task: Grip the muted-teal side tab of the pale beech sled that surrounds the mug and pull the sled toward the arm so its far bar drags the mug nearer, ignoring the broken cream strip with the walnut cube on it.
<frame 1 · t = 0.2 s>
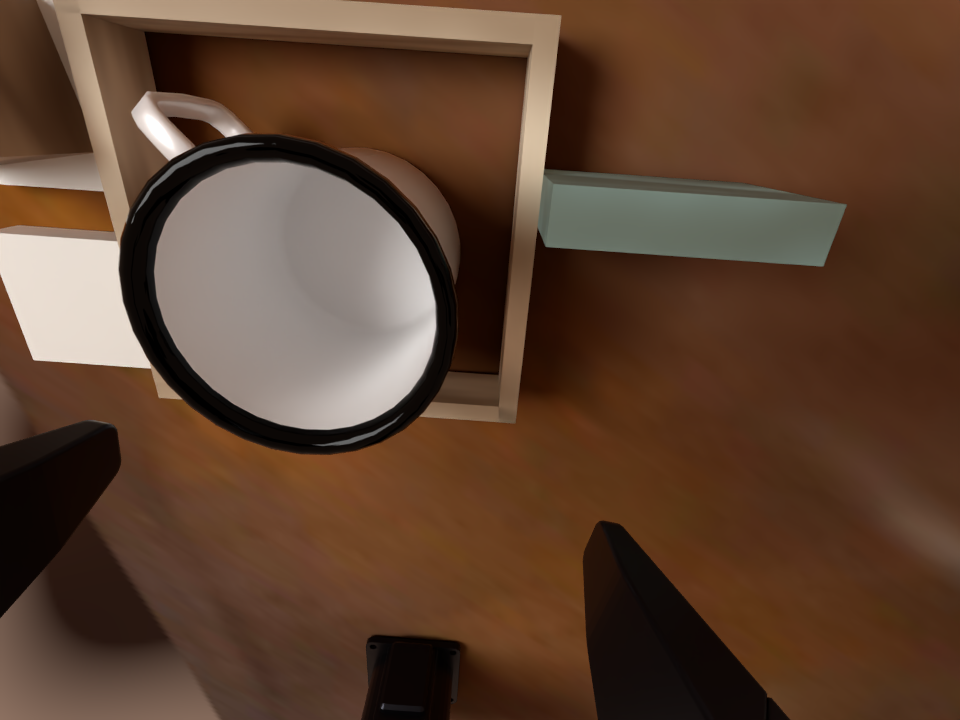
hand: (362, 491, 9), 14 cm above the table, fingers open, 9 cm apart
beech sled: (433, 250, 18), point 3 cm above the table, slide at 0.0 cm
mug: (349, 225, 21), resting in beech sled
broken cream strip: (78, 206, 21), on the table
walnut cube: (6, 87, 18), point 2 cm above the table, touching broken cream strip
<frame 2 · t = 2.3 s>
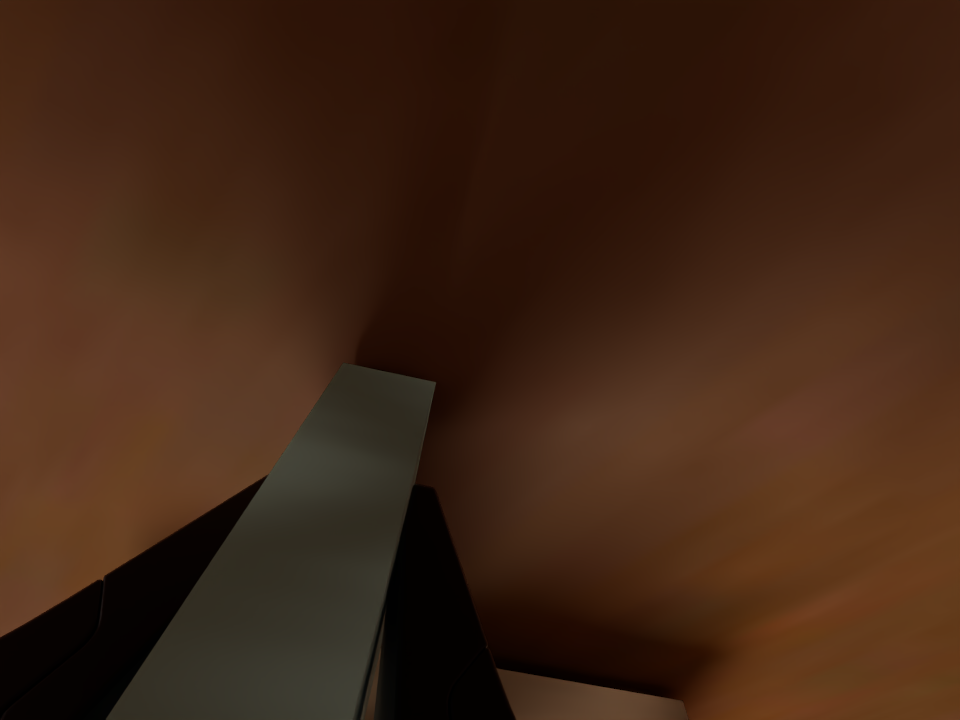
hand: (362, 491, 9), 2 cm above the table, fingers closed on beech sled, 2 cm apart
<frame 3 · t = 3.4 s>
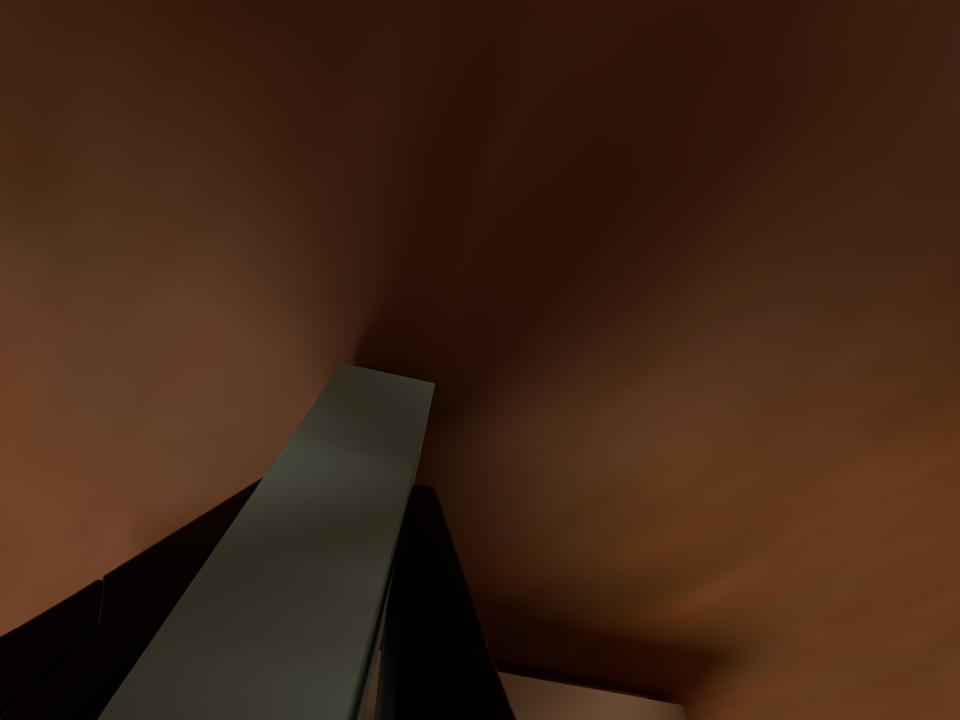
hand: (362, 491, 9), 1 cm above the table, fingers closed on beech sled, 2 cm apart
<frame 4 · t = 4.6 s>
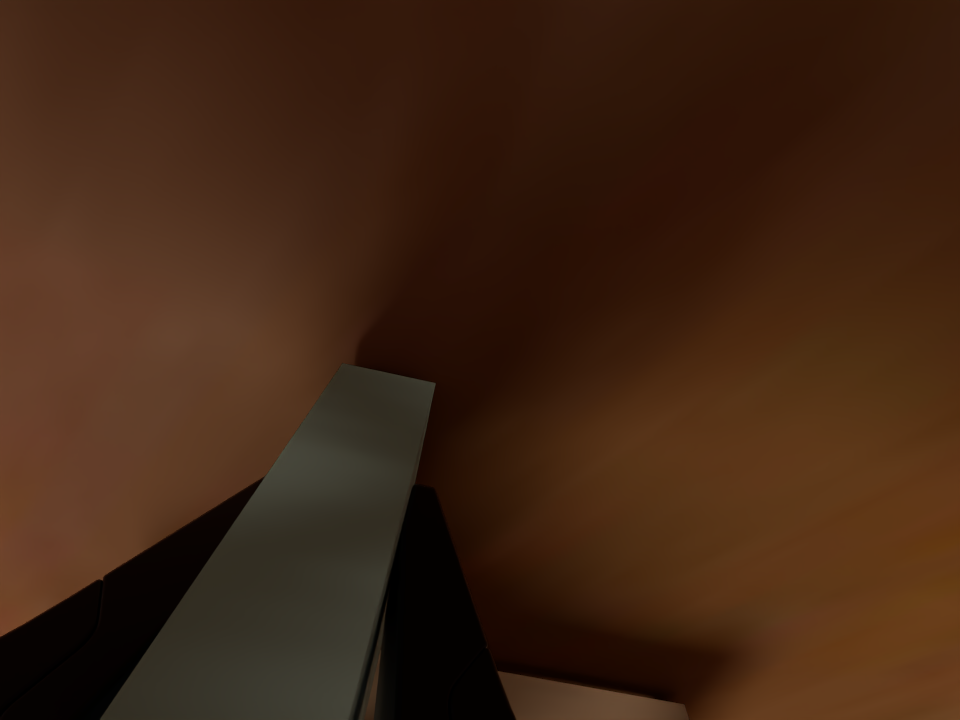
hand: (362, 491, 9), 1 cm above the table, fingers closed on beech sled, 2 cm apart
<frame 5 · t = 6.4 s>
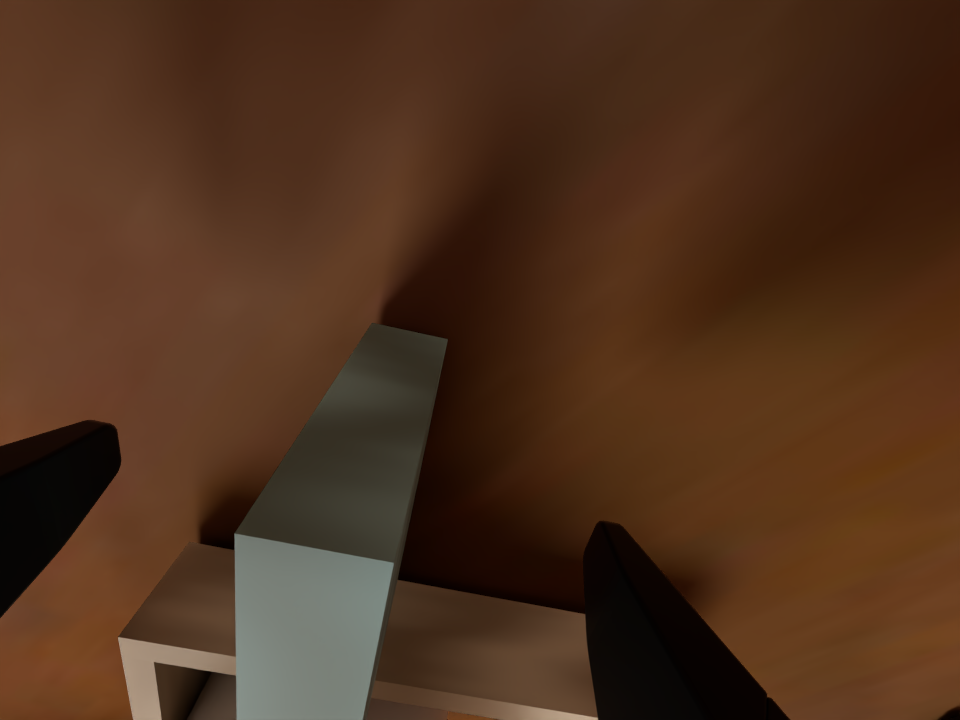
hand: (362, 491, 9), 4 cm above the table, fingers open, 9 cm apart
mug: (319, 683, 18), resting in beech sled
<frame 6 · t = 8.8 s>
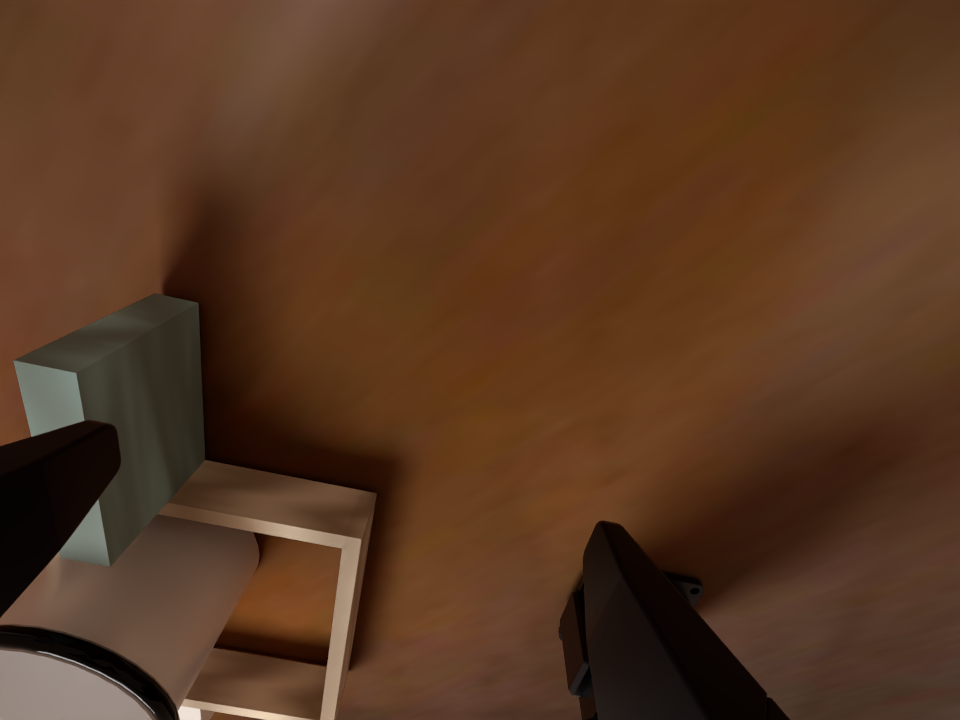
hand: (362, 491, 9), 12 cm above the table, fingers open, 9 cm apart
beech sled: (193, 570, 22), point 4 cm above the table, slide at 8.4 cm
mug: (177, 546, 27), resting in beech sled
broken cream strip: (108, 668, 32), on the table
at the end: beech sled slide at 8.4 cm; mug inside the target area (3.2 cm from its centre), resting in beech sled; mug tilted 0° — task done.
